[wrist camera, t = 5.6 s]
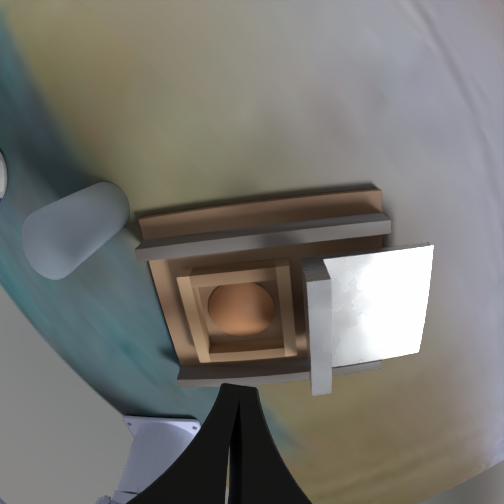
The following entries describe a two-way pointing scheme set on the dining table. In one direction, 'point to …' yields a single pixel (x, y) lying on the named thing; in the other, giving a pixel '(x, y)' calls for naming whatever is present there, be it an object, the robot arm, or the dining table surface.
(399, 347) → the cover
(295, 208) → the wooden square tray
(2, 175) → the energy drink
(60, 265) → the light blue rounded cylinder
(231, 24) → the dining table surface
